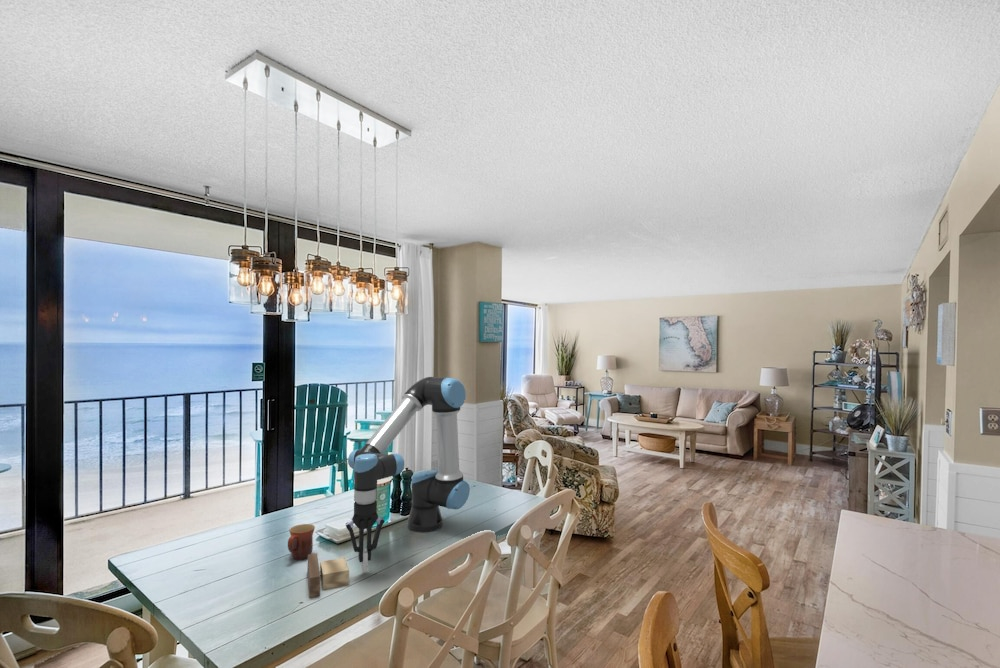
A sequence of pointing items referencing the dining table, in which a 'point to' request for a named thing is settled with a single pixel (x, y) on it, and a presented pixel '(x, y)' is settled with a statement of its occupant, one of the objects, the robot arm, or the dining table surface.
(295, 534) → the mug
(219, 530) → the dining table surface
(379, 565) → the dining table surface
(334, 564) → the oak block
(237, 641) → the dining table surface
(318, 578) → the wooden block
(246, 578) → the dining table surface
